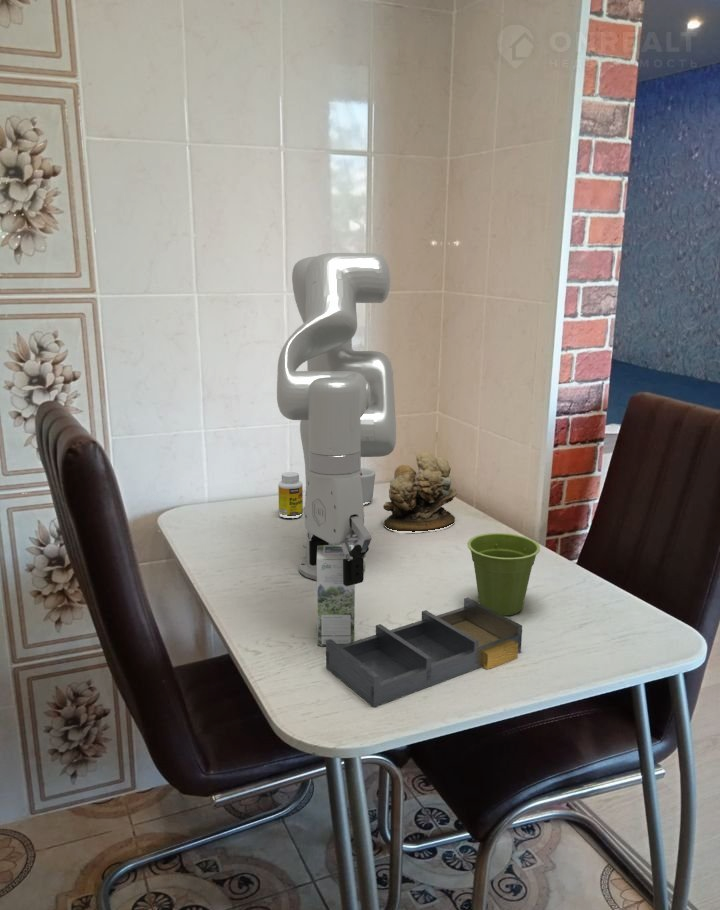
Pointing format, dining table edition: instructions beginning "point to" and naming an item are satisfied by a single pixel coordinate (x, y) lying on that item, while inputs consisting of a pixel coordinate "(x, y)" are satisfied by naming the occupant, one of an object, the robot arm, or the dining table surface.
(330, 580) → the syrup box
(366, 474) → the cup
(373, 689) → the tray
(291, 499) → the supplement bottle
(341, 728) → the dining table surface
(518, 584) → the plant pot
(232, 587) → the dining table surface
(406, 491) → the brown lumpy piece
